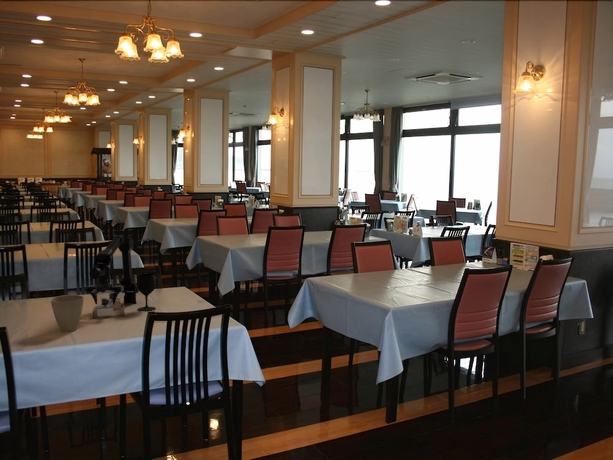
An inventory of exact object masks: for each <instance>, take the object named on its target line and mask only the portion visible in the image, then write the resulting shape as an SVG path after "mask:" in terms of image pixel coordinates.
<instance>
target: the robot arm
mask: <svg viewBox="0 0 613 460" xmlns="http://www.w3.org/2000/svg"><path fill="white" fill-rule="evenodd" d="M134 242H135V241H134V240H133V238H132V237H125V236H122V235H115V236H113V237H112V240H111V241H110V242H109V244H108V245H107V246H106V248H104V249H103V250H100V251H99V252H98V253H96V256H95V259H94V261H93V265H92V269H90V270H89V273H88V274H89V278H91V279H92V280H97V284H93V285H92V284H89V285H87V286H86V287H85V293H88V294H89V295H91V297H92V298H93V301H94V303H95V305H96V306H97V305H98V293H106V292H107V291H113V292H112V293H113V305H114V304H115V301H116V298H118V296H119V294H120V293H121V294H123V303H124V305H131V304H132V305H133V304H137V294H139V293H140V291H139V290H138V288H137V280H136V279H135V278H134V276H133V271H132V270H133V268H132V255H131V254H132V253H131V252H132V250H133V249H134V244H135V243H134ZM117 250H119V251H120V253H121V258H122V259H121V261H122V276H123V277H122V279H121V280H120V284H119V285H118V284H117V285H114V286H112V284H111V279H112V278H111V267H112V264H111V263H112V262H113V259H114V257H113V255H114V254H115V253H116V251H117Z"/></svg>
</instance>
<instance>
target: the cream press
mask: <svg viewBox="0 0 613 460" xmlns="http://www.w3.org/2000/svg"><path fill="white" fill-rule="evenodd" d="M96 306H97V317H98V316H112V315H113V304H108V305H106V307H104V305H102V304H97V305H96Z"/></svg>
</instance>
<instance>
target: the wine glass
mask: <svg viewBox="0 0 613 460" xmlns="http://www.w3.org/2000/svg"><path fill="white" fill-rule="evenodd" d="M155 276H156V275H155V274H154V273H149V272H148V273H144V272H143V273H140V274H138V275H137V277H136V285H137V288H138V290H139V293H141V294H142V295H144V298H145V306H141V307H138V308H137V309H136V311H138V312H141V311H145V313H147V312H148V311H149V312H153V311H152V310H154V311H156V310H157V307H155V306H149V304H148V297H149V295H150V294H151V293H153V292H154V290H156V289H155V288H156V285H157V284H156V283H157V282H156V281H157V280H156V277H155ZM155 309H156V310H155ZM146 311H147V312H146Z"/></svg>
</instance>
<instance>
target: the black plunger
mask: <svg viewBox="0 0 613 460" xmlns="http://www.w3.org/2000/svg"><path fill="white" fill-rule="evenodd" d="M108 304H109V298H108V297H106V298H104V297H103V298H101V305H104V307H106V305H108Z"/></svg>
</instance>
